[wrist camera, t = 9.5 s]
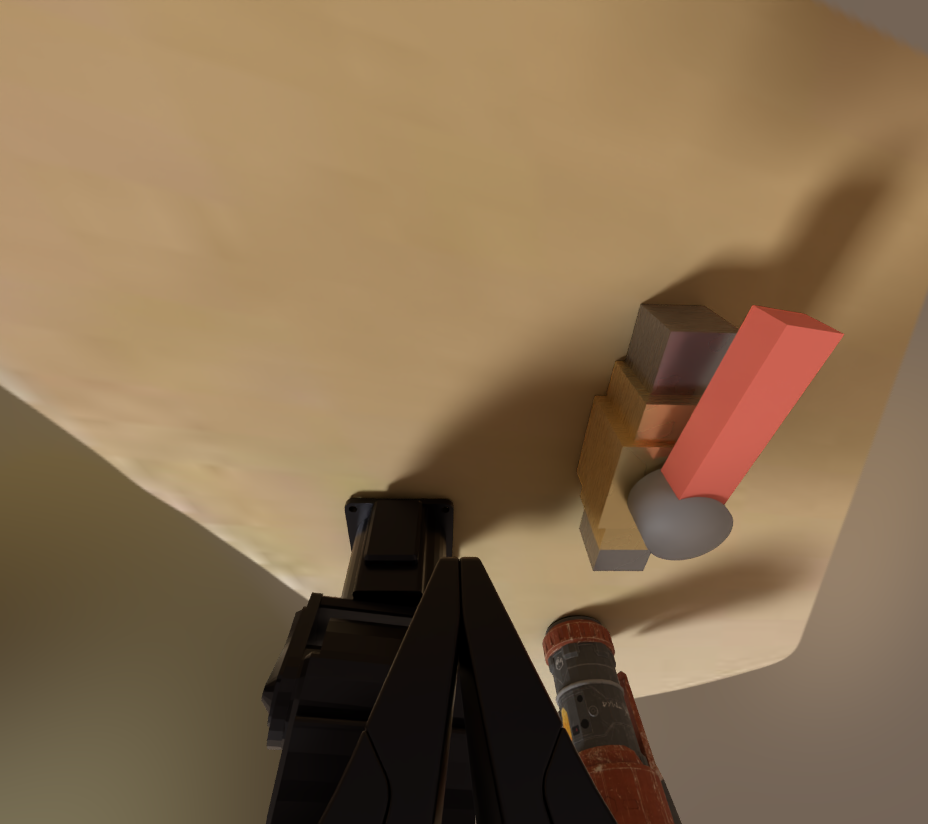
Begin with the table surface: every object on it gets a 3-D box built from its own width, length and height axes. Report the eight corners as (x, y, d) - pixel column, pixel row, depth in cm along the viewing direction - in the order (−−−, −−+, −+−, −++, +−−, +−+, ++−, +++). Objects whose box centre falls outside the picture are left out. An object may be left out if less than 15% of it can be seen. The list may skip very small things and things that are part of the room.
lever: (684, 525, 21) (707, 563, 19) (616, 518, 20) (632, 556, 19) (822, 316, 15) (874, 341, 13) (729, 300, 15) (769, 324, 13)
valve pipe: (640, 528, 28) (669, 587, 24) (562, 528, 28) (579, 587, 24) (728, 306, 20) (790, 345, 16) (617, 303, 19) (655, 342, 16)
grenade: (594, 660, 37) (668, 929, 25) (521, 638, 35) (561, 922, 22) (640, 627, 34) (749, 910, 22) (564, 601, 32) (637, 901, 20)
